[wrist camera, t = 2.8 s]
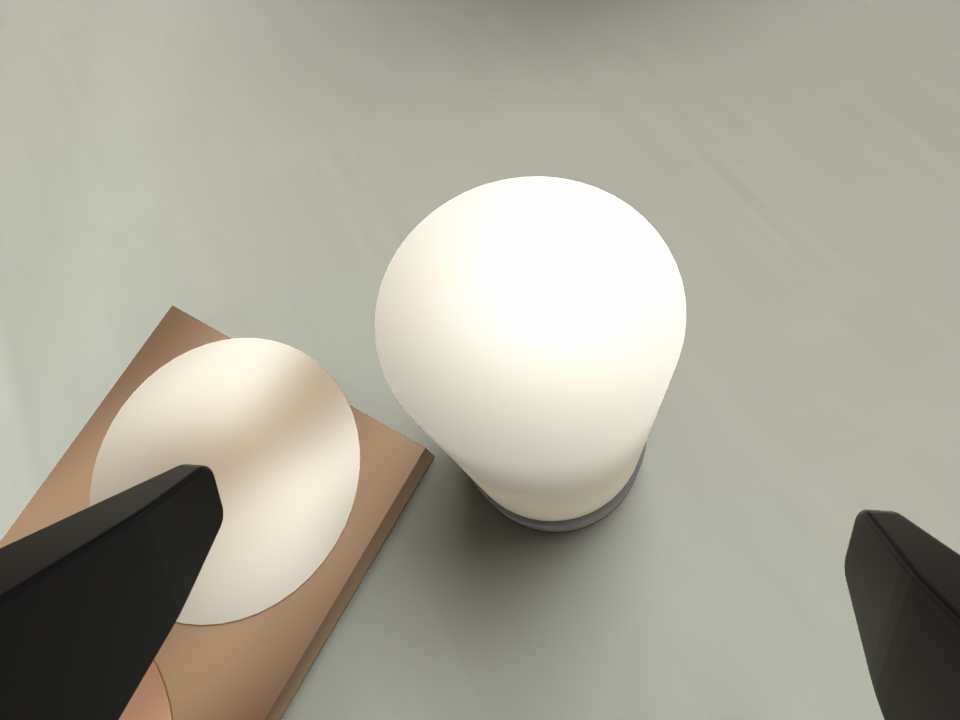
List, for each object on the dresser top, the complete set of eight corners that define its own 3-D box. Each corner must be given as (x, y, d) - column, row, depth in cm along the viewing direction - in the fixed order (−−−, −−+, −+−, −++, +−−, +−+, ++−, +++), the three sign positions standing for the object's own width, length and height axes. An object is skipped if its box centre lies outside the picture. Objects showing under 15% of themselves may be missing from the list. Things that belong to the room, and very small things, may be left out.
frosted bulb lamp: (669, 410, 19) (748, 240, 10) (591, 565, 18) (598, 536, 9) (520, 339, 21) (467, 131, 11) (440, 478, 20) (309, 375, 10)
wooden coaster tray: (446, 435, 20) (436, 425, 19) (88, 1047, 16) (48, 1083, 15) (204, 302, 23) (182, 286, 22) (-147, 795, 19) (-197, 808, 18)
